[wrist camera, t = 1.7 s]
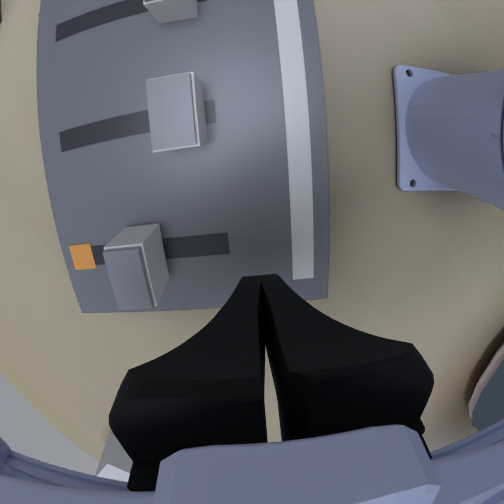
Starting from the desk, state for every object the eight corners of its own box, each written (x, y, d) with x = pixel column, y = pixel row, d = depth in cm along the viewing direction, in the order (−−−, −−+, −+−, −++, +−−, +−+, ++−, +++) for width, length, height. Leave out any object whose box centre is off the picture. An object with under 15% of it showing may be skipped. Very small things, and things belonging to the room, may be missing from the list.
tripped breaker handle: (159, 223, 16) (139, 246, 13) (169, 277, 17) (155, 310, 14) (125, 227, 16) (100, 250, 13) (137, 280, 17) (117, 311, 14)
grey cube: (122, 415, 26) (107, 463, 20) (175, 439, 27) (168, 487, 21) (107, 437, 27) (94, 479, 22) (154, 458, 29) (146, 500, 23)
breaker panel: (296, -47, 12) (313, -92, 7) (320, 282, 20) (342, 331, 15) (56, 0, 12) (12, -22, 7) (93, 298, 20) (60, 342, 15)
